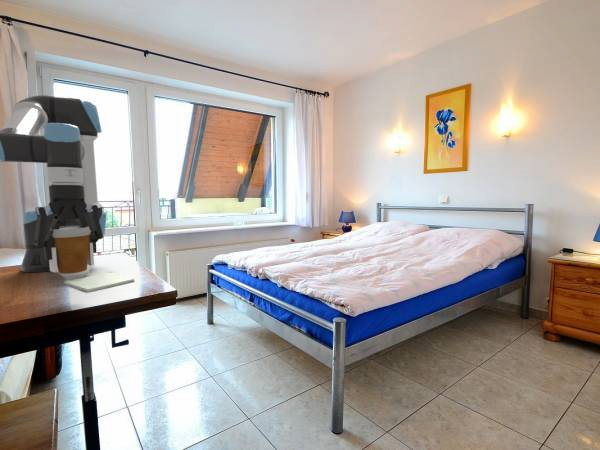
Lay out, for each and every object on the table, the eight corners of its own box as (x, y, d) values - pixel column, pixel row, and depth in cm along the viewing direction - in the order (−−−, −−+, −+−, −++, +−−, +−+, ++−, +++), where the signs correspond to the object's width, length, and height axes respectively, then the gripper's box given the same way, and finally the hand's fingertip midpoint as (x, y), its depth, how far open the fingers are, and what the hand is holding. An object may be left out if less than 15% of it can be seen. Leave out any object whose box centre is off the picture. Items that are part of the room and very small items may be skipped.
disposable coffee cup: (95, 265, 93) (92, 224, 92) (92, 272, 85) (89, 228, 84) (54, 269, 89) (51, 226, 87) (47, 277, 81) (43, 230, 79)
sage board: (64, 283, 102) (64, 281, 102) (109, 274, 114) (109, 272, 114) (88, 292, 94) (87, 289, 94) (134, 281, 105) (134, 278, 105)
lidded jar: (74, 281, 105) (72, 253, 104) (48, 280, 107) (45, 252, 106) (101, 273, 115) (99, 248, 114) (76, 272, 118) (74, 247, 117)
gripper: (21, 183, 74) (30, 279, 76) (114, 184, 91) (119, 262, 94) (10, 183, 78) (19, 274, 80) (101, 184, 95) (106, 259, 98)
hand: (72, 267), depth 87 cm, fingers closed on disposable coffee cup, 8 cm apart
